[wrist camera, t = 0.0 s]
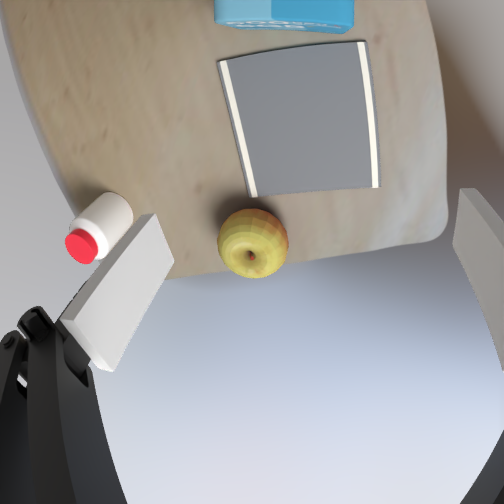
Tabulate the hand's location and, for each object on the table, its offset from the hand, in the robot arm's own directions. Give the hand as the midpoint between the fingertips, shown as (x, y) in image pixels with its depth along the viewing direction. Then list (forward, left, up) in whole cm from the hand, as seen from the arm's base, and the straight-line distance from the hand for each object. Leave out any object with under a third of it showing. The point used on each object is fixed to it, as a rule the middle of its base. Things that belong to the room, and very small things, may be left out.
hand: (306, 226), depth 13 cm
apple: (+17, -10, -28) cm, 34 cm away
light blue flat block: (-12, 0, -28) cm, 31 cm away
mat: (+2, -1, -28) cm, 28 cm away
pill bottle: (+11, -34, -28) cm, 46 cm away
